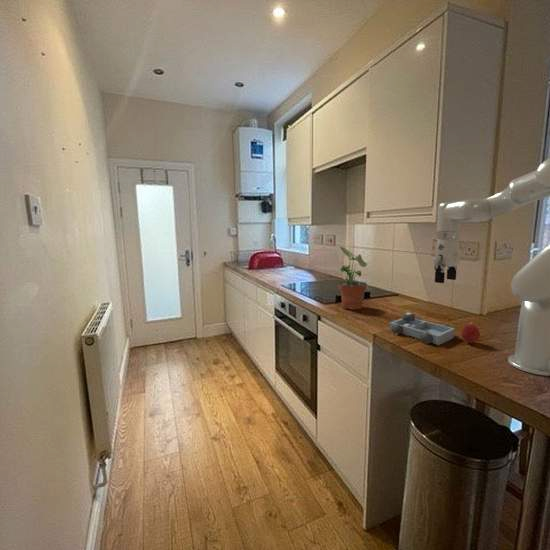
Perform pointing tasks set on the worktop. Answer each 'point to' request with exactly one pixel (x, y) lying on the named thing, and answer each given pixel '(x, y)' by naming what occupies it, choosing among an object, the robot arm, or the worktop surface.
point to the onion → (470, 333)
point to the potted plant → (352, 284)
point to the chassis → (423, 330)
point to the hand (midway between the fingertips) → (445, 281)
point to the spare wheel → (408, 316)
